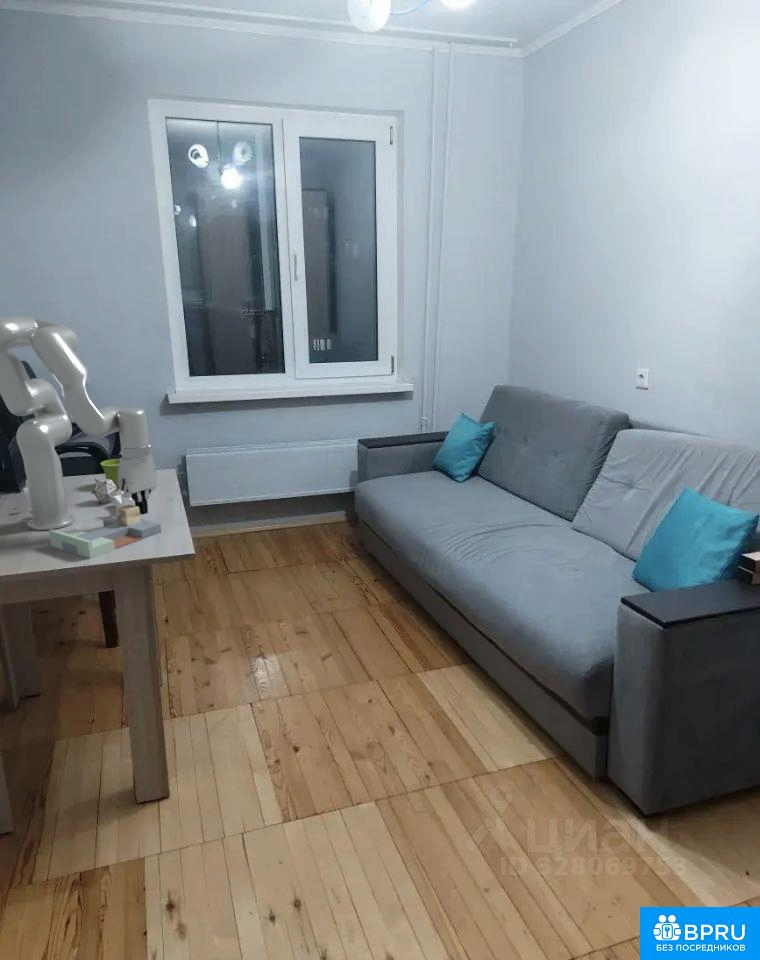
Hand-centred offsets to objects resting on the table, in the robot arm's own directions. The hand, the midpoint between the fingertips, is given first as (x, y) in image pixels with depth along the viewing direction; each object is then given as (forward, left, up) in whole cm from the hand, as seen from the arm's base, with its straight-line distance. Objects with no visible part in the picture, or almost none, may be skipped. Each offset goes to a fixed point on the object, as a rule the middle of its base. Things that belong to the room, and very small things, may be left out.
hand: (142, 513), depth 200 cm
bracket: (-16, +9, -5) cm, 19 cm away
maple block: (0, -5, -2) cm, 5 cm away
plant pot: (-42, +23, -4) cm, 49 cm away
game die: (-29, +9, -4) cm, 31 cm away
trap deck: (0, -12, -4) cm, 13 cm away
